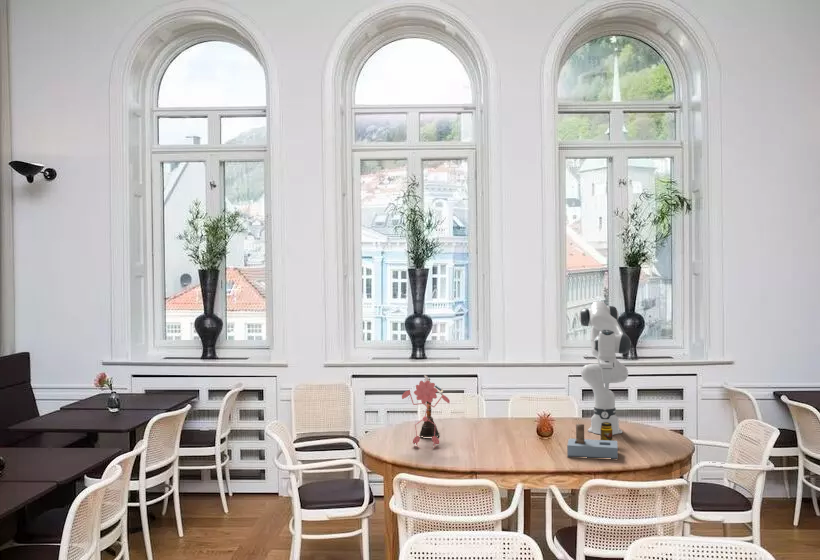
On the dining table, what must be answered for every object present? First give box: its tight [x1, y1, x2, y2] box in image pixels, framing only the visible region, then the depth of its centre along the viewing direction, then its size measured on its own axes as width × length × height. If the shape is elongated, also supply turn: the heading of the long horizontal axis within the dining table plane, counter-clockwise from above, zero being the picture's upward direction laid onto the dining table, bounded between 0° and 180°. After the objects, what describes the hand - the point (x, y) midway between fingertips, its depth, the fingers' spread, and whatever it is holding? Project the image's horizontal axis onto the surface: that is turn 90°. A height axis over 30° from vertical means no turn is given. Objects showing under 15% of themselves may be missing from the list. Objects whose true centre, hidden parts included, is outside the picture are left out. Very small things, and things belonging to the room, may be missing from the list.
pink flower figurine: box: [401, 380, 451, 447], centre depth 380 cm, size 15×26×35 cm, turn 83°
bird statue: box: [418, 374, 444, 437], centre depth 399 cm, size 17×13×35 cm
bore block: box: [566, 438, 619, 460], centre depth 356 cm, size 14×24×6 cm, turn 75°
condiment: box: [600, 422, 614, 441], centre depth 374 cm, size 7×8×12 cm
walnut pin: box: [575, 423, 585, 444], centre depth 358 cm, size 4×4×14 cm
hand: (607, 388), depth 364 cm, fingers open, 8 cm apart
